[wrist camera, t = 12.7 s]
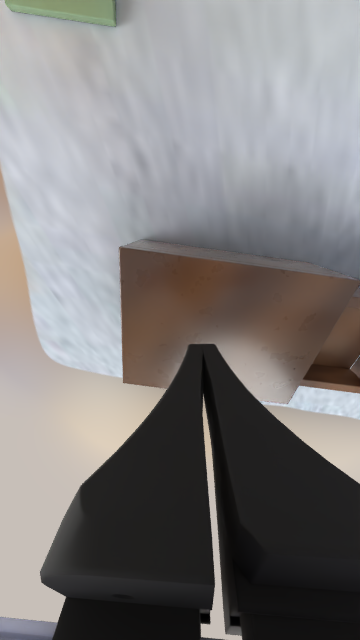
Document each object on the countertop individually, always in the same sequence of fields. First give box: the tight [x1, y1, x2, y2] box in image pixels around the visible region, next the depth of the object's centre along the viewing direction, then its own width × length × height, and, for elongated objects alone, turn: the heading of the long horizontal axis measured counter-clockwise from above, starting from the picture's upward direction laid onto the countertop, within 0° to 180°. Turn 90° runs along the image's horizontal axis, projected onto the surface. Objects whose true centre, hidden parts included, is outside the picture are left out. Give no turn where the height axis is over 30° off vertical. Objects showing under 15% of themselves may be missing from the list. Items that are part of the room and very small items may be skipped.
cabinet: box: [119, 240, 360, 404], centre depth 16 cm, size 15×11×6 cm
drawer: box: [299, 288, 360, 393], centre depth 16 cm, size 18×10×4 cm, turn 83°
